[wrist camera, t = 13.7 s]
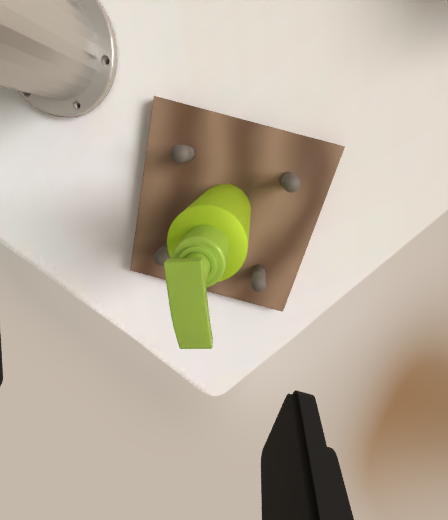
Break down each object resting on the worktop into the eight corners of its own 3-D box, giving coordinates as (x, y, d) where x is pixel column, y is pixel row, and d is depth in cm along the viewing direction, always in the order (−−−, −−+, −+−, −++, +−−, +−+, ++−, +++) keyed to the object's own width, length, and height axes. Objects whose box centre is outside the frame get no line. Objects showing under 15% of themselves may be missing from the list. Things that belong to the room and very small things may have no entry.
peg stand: (134, 265, 39) (116, 283, 33) (158, 98, 31) (139, 88, 26) (281, 305, 38) (285, 329, 33) (340, 146, 31) (357, 146, 26)
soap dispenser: (203, 244, 35) (142, 354, 16) (196, 185, 33) (116, 235, 14) (252, 242, 34) (248, 354, 16) (249, 181, 32) (240, 228, 13)
